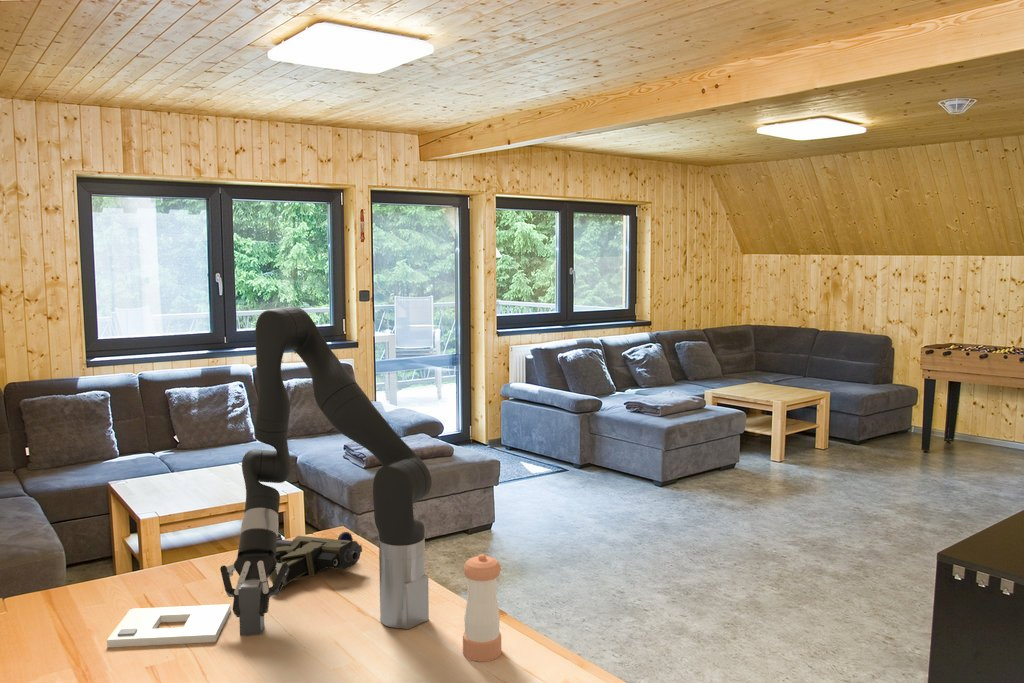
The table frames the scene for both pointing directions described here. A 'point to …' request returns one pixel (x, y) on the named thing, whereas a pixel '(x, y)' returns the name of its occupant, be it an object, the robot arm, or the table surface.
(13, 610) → the table surface
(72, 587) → the table surface
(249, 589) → the grey rectangular peg
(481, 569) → the pepper shaker
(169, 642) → the plate
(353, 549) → the futuristic firearm
